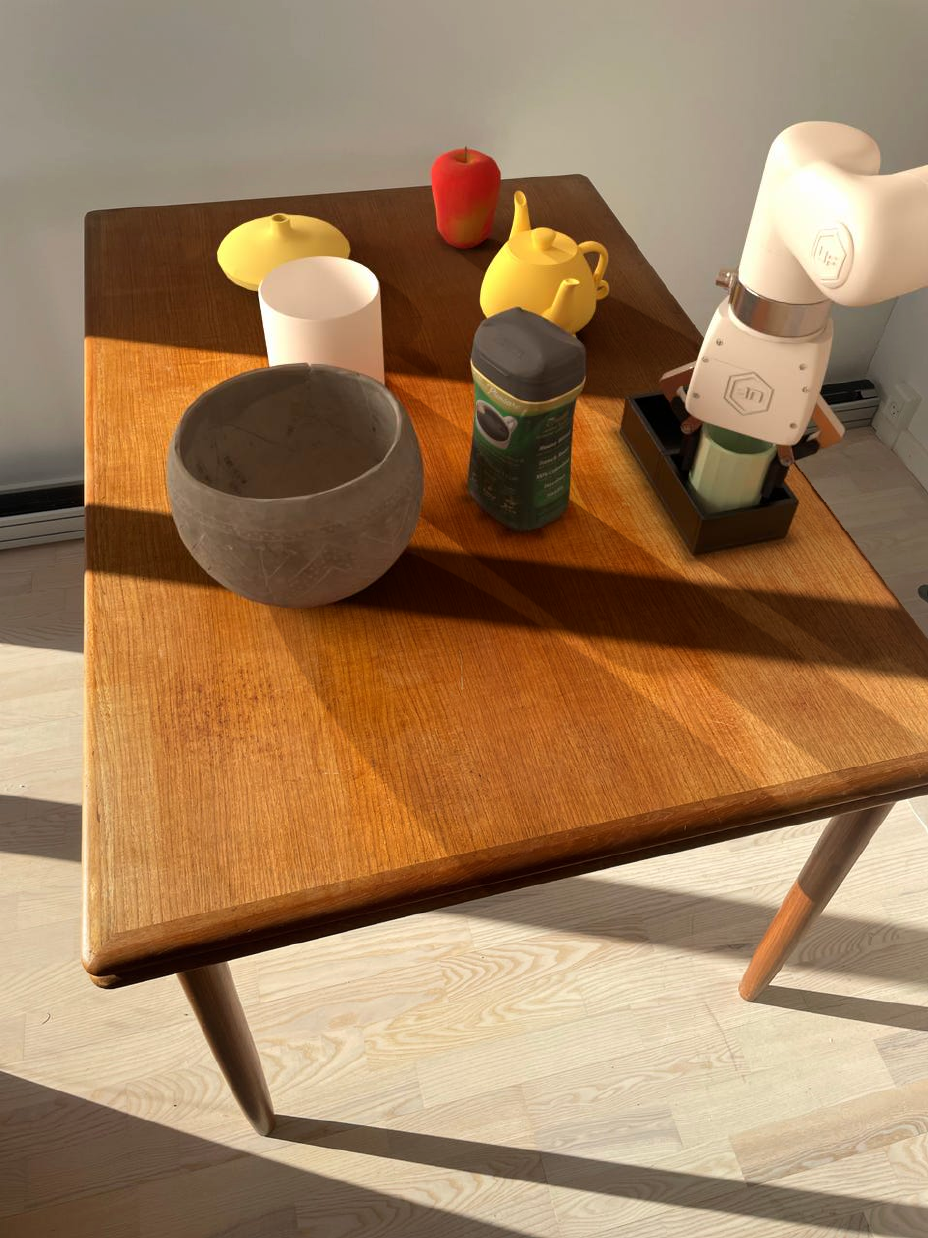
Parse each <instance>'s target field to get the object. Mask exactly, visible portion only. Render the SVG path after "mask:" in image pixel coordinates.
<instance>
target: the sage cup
mask: <svg viewBox="0 0 928 1238" xmlns="http://www.w3.org/2000/svg"><path fill="white" fill-rule="evenodd" d="M776 454H777V447H776V444H773V443H770V442H766V441H763V440H760V439H757V438H753V437H750V436H747V435H744V434H741V433H738V432H734V431H731V430H728V429H725V428H722V427H719V426H716V425H713V424H710V423H707V422H703V424H702V427H701V431H700V435H699V439H698V443H697V447H696V451H695V455H694V458H693V462H692V466H691V469H690V473H689V477H688V481H687V484H688V486H689V488H690V489H691V491H692V492H693V494H694V495H695V497H696V499H697V500H698V502H699V503H700V505H701V507H702V508H703V510H704V511H705V513H706V514H711V513H716V512H721V511H727V510H732V509H737V508H743V507H748V506H753V505H759V504H760V502H761V499H762V497H763V495H761V493H762V490H763V487H764V484H765V481H766V478H767V475H768V473H769V470H770V467H771V464H772V462H773V460H774V458H775V456H776Z"/></svg>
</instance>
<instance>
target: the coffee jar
mask: <svg viewBox="0 0 928 1238" xmlns="http://www.w3.org/2000/svg"><path fill="white" fill-rule="evenodd" d="M586 357H587V356H586V347H585V345H584V344H583V342H581V341H580V340H579V339H578V338H575V337H574V336H572V335H571V334H569V333H568V332H567V331H565V330H564V329H562V328H561V327H559V326H557V325H556V324H554V323H552V322H551V321H549V320H548V319H546V318H544V317H542V316H540V315H538V314H535V313H533V312H530V311H527V310H523V309H522V308H521V307H514V308H511V309H508V310H506V311H503V312H500V313H498V314H495V315H493V316H491V317H489V318H487V317H486V318H485V319H484V320H482V321H481V322H480V324H479V326H478V328H477V329H476V331H475V334H474V338H473V344H472V349H471V355H470V369H471V374H472V380H473V386H474V411H473V424H472V434H471V435H472V436H471V437H472V438H471V446H470V455H469V463H468V471H467V472H468V473H467V490H468V493H469V495H470V496H471V498H472V499H473V500H474V501H475V502H476V503H477V505H478V506H479V507H480V508H481V509H482V510H483V511H485V512H486V513H487V515H490V516H491V517H492V519H494V520H496V521H497V522H498V523H500V524H502V525H503V526H504V527H506V528H508V529H510V530H512V531H517V532H528V531H533V530H534V531H535V530H538V529H541V528H544V527H546V526H547V525H550V524H551V523H553V522H554V521H556V520H558V519H559V517H561V516H562V515H564V513H565V512H566V510H567V509H568V507H569V503H570V494H571V483H572V482H571V481H572V478H571V477H572V449H573V448H572V447H573V437H574V436H573V435H574V418H575V409H576V405H577V400H578V398H579V396H580V394H581V392H582V391H583V388H584V386H585V382H586V369H587V367H586Z"/></svg>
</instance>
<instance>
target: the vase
mask: <svg viewBox="0 0 928 1238" xmlns="http://www.w3.org/2000/svg"><path fill="white" fill-rule="evenodd" d="M350 246H351V245H350V242H349V240H348V238H347V237H345V235H344V234H343V233H342V232H341V231H340V230H339V229H338V228H337V227H336V226H333V224H331V223H329V222H327V221H325V220H321V219H319V218H317V217H311V216H306V215H301V214H300V215H297V214H286V213H283V212H282V213H281V212H280V213H275V214H272V215H270V216H264V217H260V218H259V217H258V218H255V219H253V220H250V221H247V222H244V223H243V224H240V225H239V226H237V227H235V228H234V229H232V230H231V231H230V232H229V233H228V234H226V236H225V237H224V238H223V240H222V241H221V243H220V245H219V247H218V249H217V252H216V253H217V262H218V264H219V266H220V267H221V269H222V271H223V273H224V274H225V276H226V277H227V278H228V279H229V280H231V282H233V283H234V284H235V285H237V286H240V287H243V288H245V289H247V290H250V291H254V292H258V293H259V287H260V284H261V282H262V280H263V279H264V278H265V277H266V275H267V274H268V273H269V272H271V271H272V270H273V269H275V268H277V267H278V266H280V265H282V264H284V263H287V262H290V261H293V260H297V259H301V258H307V257H316V256H329V257H338V258H343V259H348V260H349V256H350V253H351V247H350Z"/></svg>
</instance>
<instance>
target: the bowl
mask: <svg viewBox="0 0 928 1238" xmlns="http://www.w3.org/2000/svg"><path fill="white" fill-rule="evenodd" d="M423 461H424V460H423V453H422V450H421V447H420V442H419V439H418V437H417V434H416V431H415V428H414V424H413V423H412V419H411V417H410V415H409V413H408V411H407V409H406V407H405V405H404V404H403V402H402V401H401V400H400V399H399V398H398V397H397V396H396V395H395V394H394V393H393V392H392V391H391V390H390V389H389V388H388V387H387V386H384V385H383V384H382V383H381V382H379V381H377V380H375V379H373V378H372V377H370V376H367V375H365V374H362V373H360V374H359V373H358V372H355V371H351V370H348V369H344V368H340V367H335V366H331V365H326V364H311V365H310V366H309V364H308V363H293V364H282V365H276V366H270V365H269V366H264V367H258V368H254V369H250V370H247V371H243V372H241V373H239V374H237V375H234V376H232V377H229V378H227V379H225V380H223V381H221V382H220V383H218V384H216V385H214V386H212V387H211V388H209V389H207V390H206V391H203V393H201V394H200V395H199V396H198V397H197V398H195V400H194V401H193V402H192V403H191V404H190V405H189V406H188V407H187V408H186V409H185V410H184V411H183V413H182V415H181V417H180V419H179V421H178V423H177V425H176V427H175V428H174V430H173V433H172V437H171V439H170V442H169V446H168V452H167V459H166V488H167V496H168V501H169V506H170V510H171V515H172V519H173V521H174V523H175V526H176V529H177V531H178V534H179V537H180V539H181V541H182V543H183V544H184V546H185V548H186V549H187V550H188V551H189V553H190V554H191V556H192V557H193V559H194V560H195V561H196V562H197V564H198V565H199V566H201V568H202V569H203V570H204V571H205V572H206V573H207V574H208V575H209V576H210V577H211V578H212V579H214V581H216V582H218V583H219V584H220V585H222V586H223V587H224V588H226V589H227V590H228V591H230V592H232V593H233V594H236V595H238V596H240V597H242V598H244V599H247V600H249V601H251V602H254V603H259V604H262V605H265V606H270V607H278V608H284V609H307V608H309V609H310V608H314V607H320V606H325V605H330V604H332V603H335V602H338V601H341V600H343V599H346V598H348V597H351V596H354V595H355V594H357V593H360V592H361V591H363V590H365V589H366V588H368V587H369V586H370V585H372V584H374V583H375V582H376V581H377V580H378V579H379V578H381V577H382V576H383V575H384V574H385V573H387V571H388V570H390V568H392V566H393V565H394V564H395V562H396V561H398V559H399V558H400V556H401V555H403V553H404V551H405V550H406V549H407V547H408V545H409V544H410V541H411V539H412V537H413V536H414V534H415V532H416V528H417V526H418V524H419V521H420V518H421V513H422V505H423V500H424V491H425V472H424V471H425V470H424V462H423Z"/></svg>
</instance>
